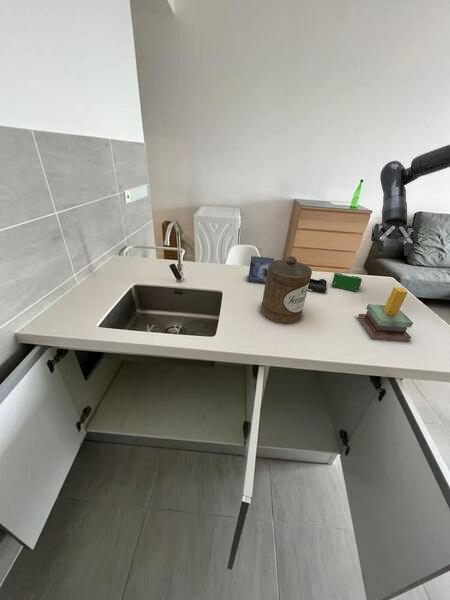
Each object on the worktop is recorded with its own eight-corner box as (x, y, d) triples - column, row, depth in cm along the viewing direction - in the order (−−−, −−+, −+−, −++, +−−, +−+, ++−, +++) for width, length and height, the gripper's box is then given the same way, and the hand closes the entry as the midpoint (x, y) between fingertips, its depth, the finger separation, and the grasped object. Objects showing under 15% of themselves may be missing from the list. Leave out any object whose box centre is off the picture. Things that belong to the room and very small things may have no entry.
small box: (247, 282, 111) (250, 260, 106) (248, 276, 117) (250, 255, 111) (271, 284, 111) (274, 263, 105) (270, 278, 116) (274, 257, 111)
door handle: (286, 267, 122) (280, 278, 108) (328, 276, 116) (327, 288, 102) (285, 273, 123) (279, 285, 110) (326, 282, 117) (325, 295, 104)
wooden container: (290, 329, 83) (305, 270, 71) (253, 312, 90) (261, 257, 79) (306, 310, 93) (321, 256, 82) (272, 297, 101) (281, 246, 89)
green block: (349, 294, 115) (363, 279, 111) (350, 297, 109) (365, 281, 106) (327, 280, 117) (340, 264, 113) (328, 282, 111) (341, 266, 107)
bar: (392, 311, 83) (403, 287, 78) (396, 315, 80) (408, 292, 76) (383, 309, 83) (393, 286, 79) (386, 314, 81) (397, 291, 76)
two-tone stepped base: (389, 320, 90) (397, 304, 87) (408, 341, 80) (418, 324, 77) (357, 317, 91) (363, 302, 87) (371, 338, 81) (379, 322, 77)
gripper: (378, 204, 86) (377, 246, 82) (422, 208, 84) (423, 250, 80) (368, 217, 93) (367, 255, 89) (408, 220, 91) (409, 260, 87)
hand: (393, 253), depth 85 cm, fingers open, 8 cm apart
